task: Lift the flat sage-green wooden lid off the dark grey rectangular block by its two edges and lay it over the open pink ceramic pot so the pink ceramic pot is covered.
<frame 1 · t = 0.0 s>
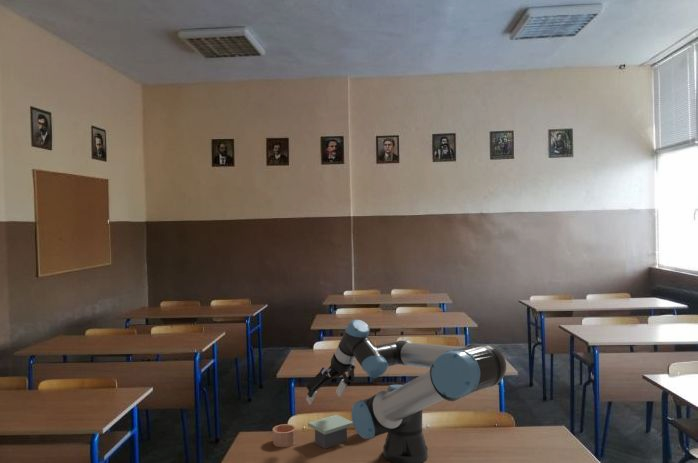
hand: (323, 397, 183), 15 cm above the table, tool tilted 35°, fingers open, 13 cm apart
dark grey rectangular block: (331, 442, 180), on the table
soda can: (369, 434, 188), on the table
pink ceramic pot: (284, 442, 181), on the table
lid: (330, 425, 180), point 6 cm above the table, touching dark grey rectangular block
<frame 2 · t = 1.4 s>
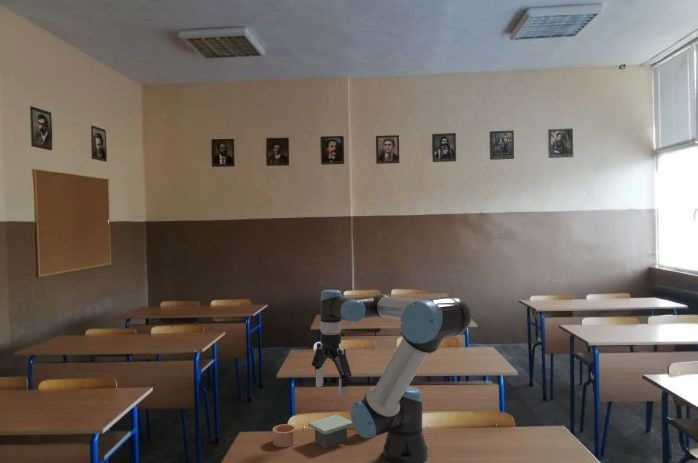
hand: (330, 390, 180), 19 cm above the table, tool pointing down, fingers open, 13 cm apart
nothing on the table moved.
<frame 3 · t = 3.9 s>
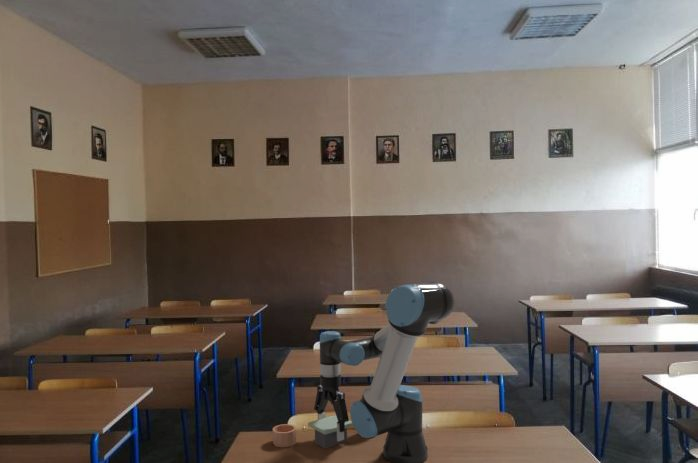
hand: (331, 435, 180), 2 cm above the table, tool pointing down, fingers closed on lid, 10 cm apart
lid: (330, 425, 180), point 6 cm above the table, touching gripper, dark grey rectangular block
everything else where it was.
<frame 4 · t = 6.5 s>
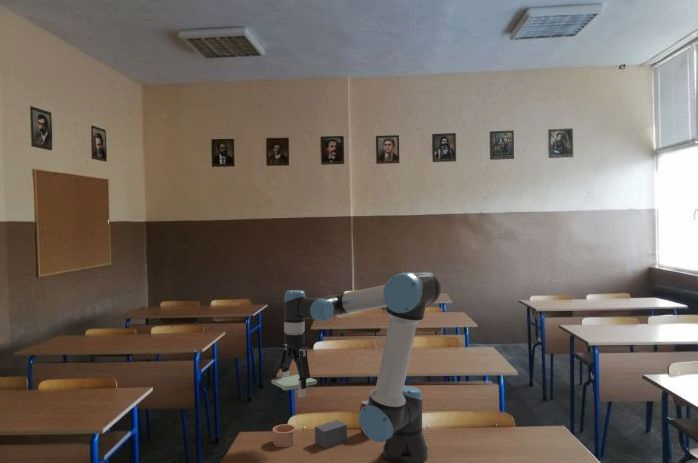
hand: (293, 393, 181), 18 cm above the table, tool pointing down, fingers closed on lid, 10 cm apart
lid: (294, 383, 181), point 21 cm above the table, touching gripper
everything else where it was.
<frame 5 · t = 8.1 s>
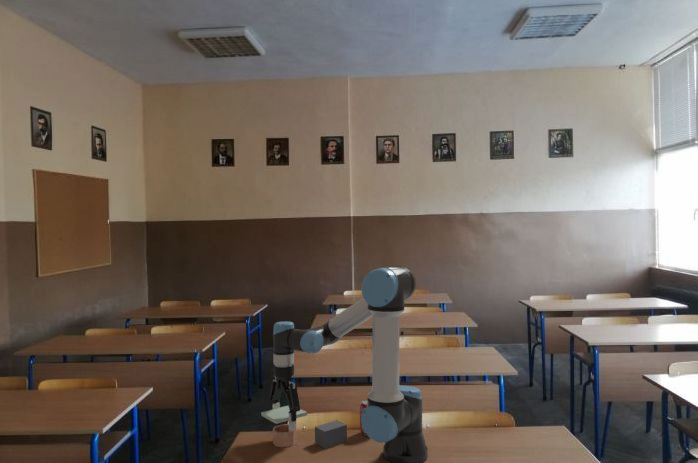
hand: (284, 425, 181), 6 cm above the table, tool pointing down, fingers closed on lid, 10 cm apart
lid: (284, 415, 181), point 10 cm above the table, touching gripper
everything else where it was.
when the fingers open (3 cm above the table, at t = 9.2 s): lid drops 2 cm, resting on pink ceramic pot.
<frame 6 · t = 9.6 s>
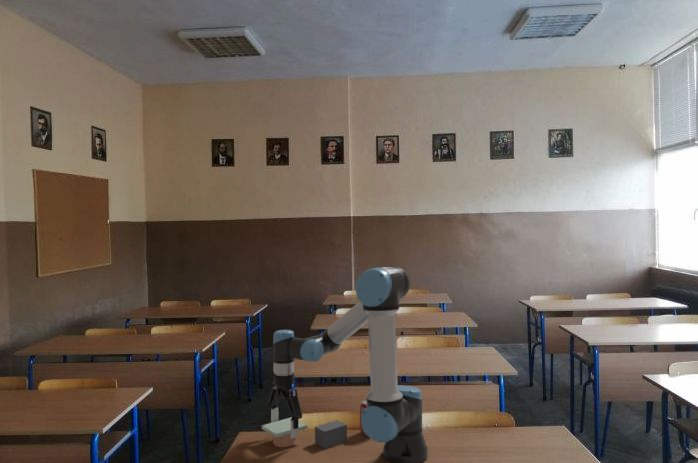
hand: (284, 431, 181), 4 cm above the table, tool pointing down, fingers open, 13 cm apart
lid: (284, 428, 181), point 5 cm above the table, touching pink ceramic pot
everything else where it was.
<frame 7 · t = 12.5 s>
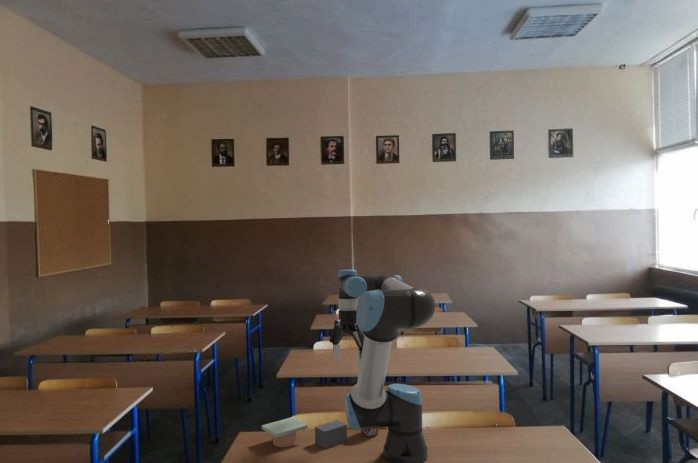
hand: (348, 364, 192), 25 cm above the table, tool pointing down, fingers open, 13 cm apart
nothing on the table moved.
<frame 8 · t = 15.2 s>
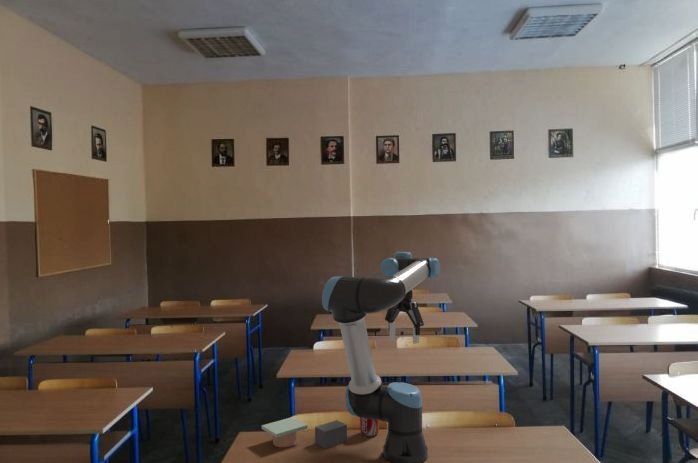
hand: (403, 340, 204), 32 cm above the table, tool pointing down, fingers open, 13 cm apart
nothing on the table moved.
at the end: lid 0.0 cm off-centre on the pink ceramic pot, point 5.0 cm above the pink ceramic pot's base; lid tilted 0°; the gripper is holding nothing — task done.
